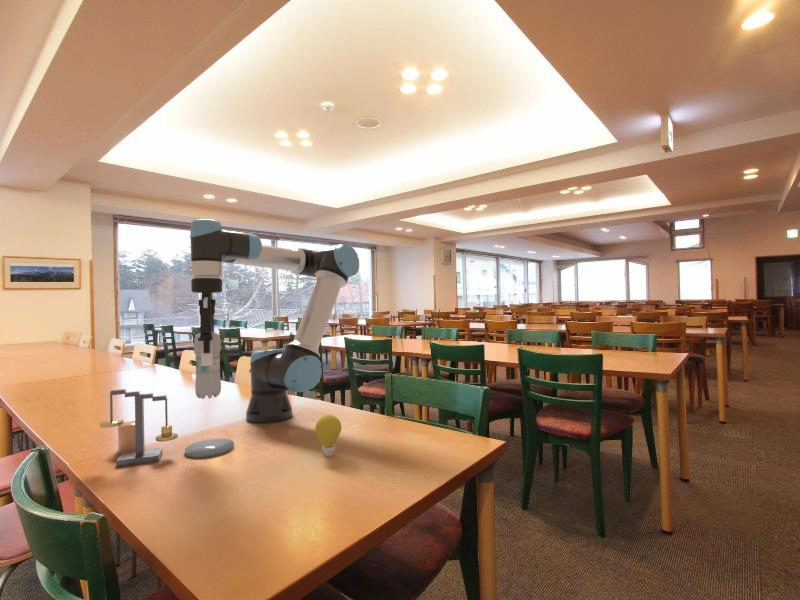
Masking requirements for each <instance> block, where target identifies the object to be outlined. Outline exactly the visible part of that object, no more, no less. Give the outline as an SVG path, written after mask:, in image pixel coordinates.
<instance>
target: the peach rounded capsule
mask: <svg viewBox="0 0 800 600" xmlns="http://www.w3.org/2000/svg"><path fill="white" fill-rule="evenodd" d="M117 450H118V451H117V452H118V453H119V454H122V453H124V452H132V451H136V437H135V420H131V421H124V423H123V424H121V425H119V426H117Z"/></svg>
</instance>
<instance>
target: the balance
mask: <svg viewBox="0 0 800 600" xmlns="http://www.w3.org/2000/svg"><path fill="white" fill-rule="evenodd" d="M117 395H124V398H132V397H134V421H135V437H136V451H132V452H124V453H120V455H119V456H118V457H117V459H116V461H115V467H116V468H119V467H127V466H134V465H136V466H137V465H142V464H149V463H150V464H151V463H157V462H159V461H160V459H161V457H162V455H163V451H164V450H163V447H158V448H149V449H145V403H144V402H145V400H146V399H152V400H151V401H152V402H159V401H164V405H165V406H164V408H165V409H164V411H165V413H164V415H165V425H163V426H161V428H160V429H161V430H160V431H161V433H160V434H159V435H157V436H155V441H156V442H160V443H161V442H169V441H173V440H176V439H178V437H179V433H176V432H173V425H171V424H168V422H169V421H168V397H167V394H165V395H164V394H162V395H154V392H153V393H152V392H151V393H141V391H140V390H137V391H127V389H126V388H125V389H122V388H121V389H111V390H110V392H109V406H110V407H109V410H110V411H109V413H110V415H109V417H110V419H109V420H105V421H102V422H100V423H99V425H98V426H99V427H100V428H114V427H118V426H119V425H121V424H123V423H124V422H125V421H124V420H125V419H121V418H119V419H118V418H115V419H114V417H113V415H114V414H113V411H114V410H113V408H114V407H113V403H114V402H113V396H117Z"/></svg>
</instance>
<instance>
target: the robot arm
mask: <svg viewBox="0 0 800 600" xmlns="http://www.w3.org/2000/svg"><path fill="white" fill-rule="evenodd" d="M189 238H190V261H191V262H190V265H188V269H190V270H191V271H190V273H191V277H192V279H191V280H190V282H191V283H190V285H191V286H190V287H191V288H190V289H191V292H192V293H194V294H195V293H197V294H201V299H198V307H199V310H198V311H199V315H200V320H199V322H200V324H199V325H200V328H199V330H201V331H200V333H201V335H200V338H198V341H201V366H211V365H213V340H212V324H213V325H214V326H215V317H214V316H215V312H216V310H215V309H216V307H215V306H216V304H217V303H216V299H213V294H214V293H217V294H218V293H221V292H223V280H222V278H221V277H223V263H225V264H235V265H244V266H250V267H251V266H252V267H259V268H268V269H274V270H284V271H290V273H292V274H294V275H300V276H306V277H311V278H316V283H315V285H314V287H313V289H312V292H311V295H310V298H309V300H308V302H307V304H306V308H305V310H304V312H303V315H302V318H301V321H300V322H299V325H298V328H297V330H296V333H295V335H294V338H293V341H290V342H289V343H287V344H286V346H285V348H284V347H282V348H274V349H267V350H259V351H253V352H252V353H251V355H250V362H249V365H250V389H251V391H250V392H251V393H250V399H249V402H248V404H247V409H246V412H245V420H246V421H247V422H250V423H263V424H264V423H265V424H266V423H275V422H279V421H283V420H287V419H289V418H291V417H292V416H293V407H292V404H291V401H290V398H289V396H288V393H287V391H290V392H294V393H304V392H309V391H310V390H312V389H313V388H315V386H317V384H319V382H320V380H321V378H322V373H323V368H322V362H321V361H320V358H321V355H320V352H319V347H320V345H321V342H322V339H323V337H324V334H325V332H326V331H325V330H326V328H327V326H328V322H329V320H330V317H331V314H332V311H333V310H334V306H335V304H336V300H337V298H338V295H339V293H340V290H341V288H344V287H346V286H347V283H348V280H349V278H352V277H354V276H356V275H357V273H358V272H359V269H360V259H359V258H360V257H359V256H358V253H357V251H356V250H355V248H354V247H353V246H351V245H350V244H348V243H347V244H346V243H345V244H343V243H338V244H335V245H327V246H317V247H309V248H300V247H295V248H293V249H292V248H291V249H290V248H284V247H278V246H272V245H266V244H262V239H261V238H260V237H259V235H257V234H254V233H249V232H240V231H233V230H225V229H223V227H222V223H221V221H220V220H215V219H209V218H199V219H197V218H196V219H194V220H193V221H191V224H190V234H189ZM213 332H215V330H214V331H213Z"/></svg>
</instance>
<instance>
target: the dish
mask: <svg viewBox="0 0 800 600" xmlns="http://www.w3.org/2000/svg"><path fill="white" fill-rule="evenodd" d="M234 447H235V441H234V440H232V439H229V438H209V439H204V440H199V441H195V442H194V443H191V444H189V445H188V446H186V447H185V448H184V455H185V456H186V457H188V458H192V459H206V458H207V459H208V458H213V457H218V456H221V455H224V454H227V453H229V452H230V451H232V450H233V449H234Z"/></svg>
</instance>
